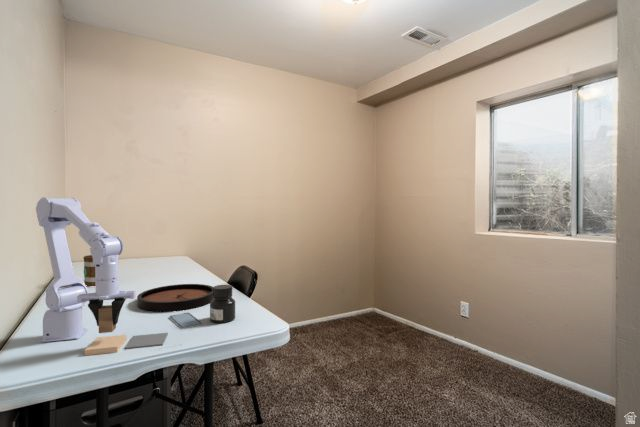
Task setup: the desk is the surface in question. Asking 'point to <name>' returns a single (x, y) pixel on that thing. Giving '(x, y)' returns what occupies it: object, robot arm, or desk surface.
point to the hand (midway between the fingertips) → (107, 324)
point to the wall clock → (175, 298)
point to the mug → (89, 271)
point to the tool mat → (146, 340)
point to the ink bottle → (222, 304)
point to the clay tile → (106, 345)
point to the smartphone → (185, 320)
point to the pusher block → (106, 319)
